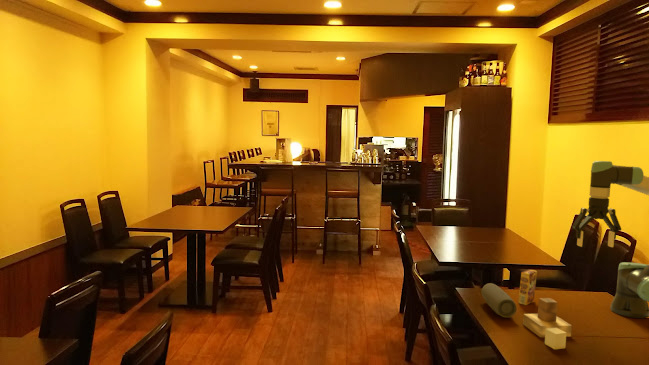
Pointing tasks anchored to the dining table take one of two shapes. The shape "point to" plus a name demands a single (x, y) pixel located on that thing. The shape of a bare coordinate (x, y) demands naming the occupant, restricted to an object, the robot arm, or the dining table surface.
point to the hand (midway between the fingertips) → (594, 246)
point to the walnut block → (547, 309)
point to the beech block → (545, 325)
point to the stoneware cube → (555, 338)
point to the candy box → (527, 287)
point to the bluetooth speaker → (498, 300)
